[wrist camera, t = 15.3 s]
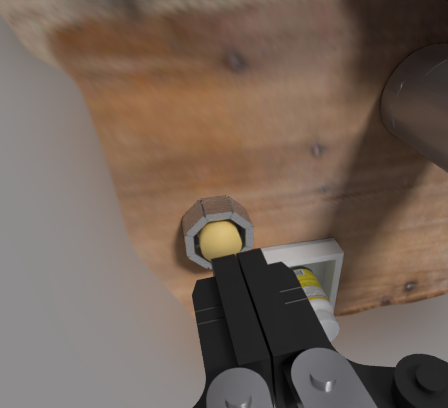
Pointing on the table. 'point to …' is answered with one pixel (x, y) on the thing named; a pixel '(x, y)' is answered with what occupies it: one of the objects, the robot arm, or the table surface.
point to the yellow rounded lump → (219, 239)
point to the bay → (312, 261)
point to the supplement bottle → (317, 300)
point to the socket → (214, 211)
